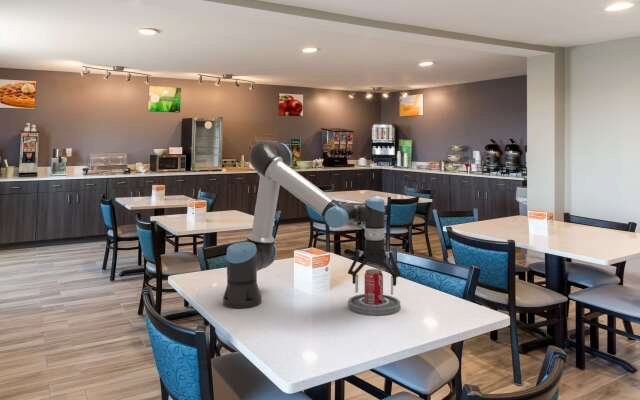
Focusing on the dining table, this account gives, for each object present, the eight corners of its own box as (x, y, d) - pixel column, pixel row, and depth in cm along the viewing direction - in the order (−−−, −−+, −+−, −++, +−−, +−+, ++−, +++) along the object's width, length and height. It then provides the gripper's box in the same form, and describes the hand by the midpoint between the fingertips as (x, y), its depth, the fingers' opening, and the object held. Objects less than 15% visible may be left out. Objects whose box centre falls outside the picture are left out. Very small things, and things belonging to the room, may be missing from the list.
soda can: (381, 307, 178) (382, 273, 177) (363, 305, 180) (363, 272, 178) (384, 301, 185) (384, 269, 184) (365, 300, 187) (366, 268, 185)
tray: (344, 313, 175) (344, 307, 174) (352, 297, 194) (352, 291, 194) (399, 317, 171) (399, 310, 170) (401, 300, 190) (401, 294, 190)
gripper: (340, 239, 179) (340, 293, 181) (407, 241, 174) (406, 297, 176) (343, 235, 186) (343, 288, 188) (408, 237, 181) (407, 291, 183)
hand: (374, 292), depth 182 cm, fingers open, 13 cm apart
